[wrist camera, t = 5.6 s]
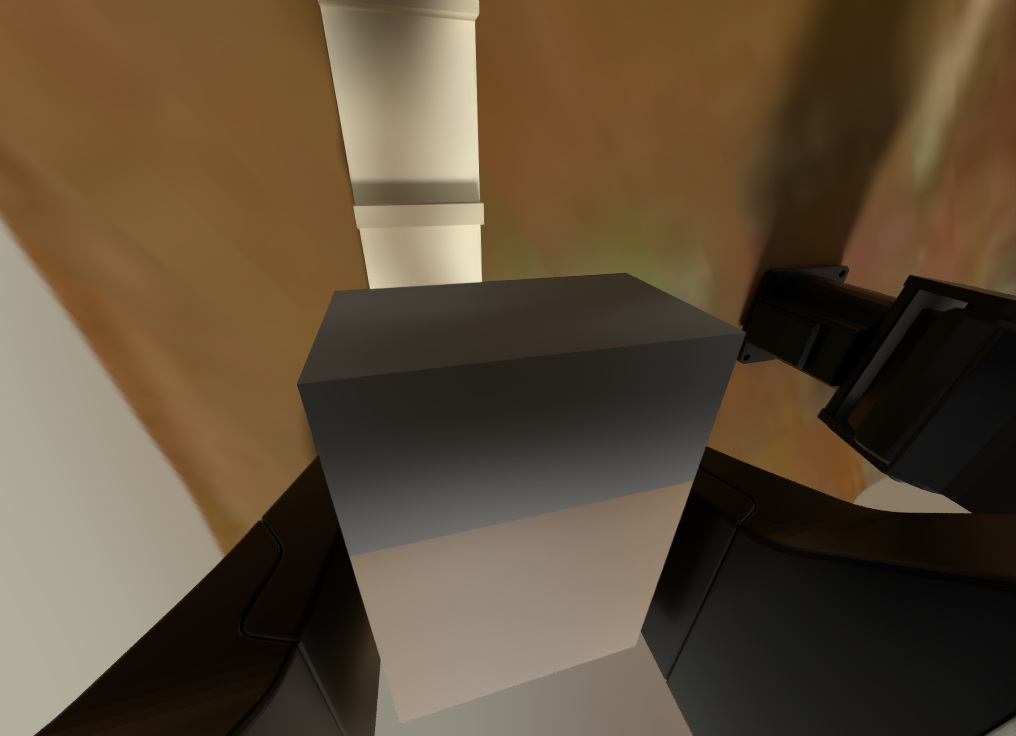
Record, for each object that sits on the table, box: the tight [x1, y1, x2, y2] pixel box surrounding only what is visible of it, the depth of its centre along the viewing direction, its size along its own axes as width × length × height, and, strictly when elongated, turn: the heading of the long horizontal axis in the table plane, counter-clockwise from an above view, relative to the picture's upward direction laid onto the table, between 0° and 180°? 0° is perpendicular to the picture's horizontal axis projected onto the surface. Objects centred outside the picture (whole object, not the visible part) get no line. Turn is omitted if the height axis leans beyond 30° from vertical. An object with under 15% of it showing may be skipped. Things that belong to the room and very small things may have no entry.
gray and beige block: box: [297, 273, 746, 723], centre depth 7 cm, size 4×5×6 cm, turn 179°
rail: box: [317, 0, 484, 289], centre depth 12 cm, size 5×20×8 cm, turn 0°
